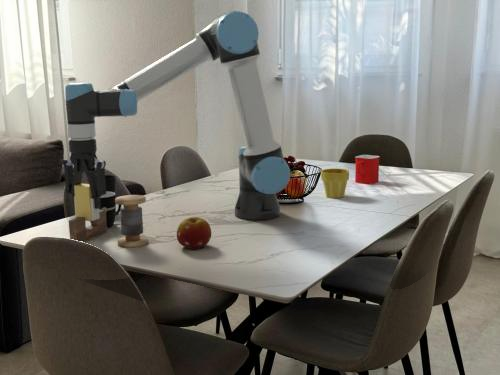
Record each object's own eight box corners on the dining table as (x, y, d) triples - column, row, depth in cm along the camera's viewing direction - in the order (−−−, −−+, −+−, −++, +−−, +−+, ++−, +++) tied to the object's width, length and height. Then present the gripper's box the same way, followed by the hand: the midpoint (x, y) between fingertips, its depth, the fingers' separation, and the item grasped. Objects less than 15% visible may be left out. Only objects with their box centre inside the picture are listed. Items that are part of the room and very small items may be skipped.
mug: (100, 231, 183) (98, 198, 181) (82, 226, 189) (79, 195, 187) (130, 223, 192) (129, 191, 190) (112, 218, 198) (110, 188, 196)
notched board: (107, 232, 182) (105, 209, 181) (77, 245, 170) (75, 220, 168) (100, 231, 183) (99, 208, 182) (70, 244, 170) (68, 220, 169)
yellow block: (98, 218, 176) (96, 184, 174) (90, 221, 173) (88, 186, 170) (84, 216, 178) (82, 183, 176) (76, 219, 174) (74, 185, 172)
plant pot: (317, 198, 223) (317, 172, 221) (324, 192, 232) (325, 167, 230) (345, 200, 219) (345, 173, 217) (351, 194, 228) (352, 169, 226)
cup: (111, 214, 204) (109, 179, 201) (91, 213, 205) (88, 178, 203) (121, 208, 211) (119, 175, 209) (100, 208, 213) (98, 174, 210)
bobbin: (153, 240, 173) (151, 196, 170) (137, 248, 165) (134, 202, 163) (128, 237, 176) (126, 194, 173) (111, 245, 168) (108, 200, 166)
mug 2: (362, 179, 257) (363, 154, 255) (380, 181, 252) (381, 156, 250) (348, 183, 248) (348, 158, 246) (366, 186, 243) (367, 160, 241)
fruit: (182, 253, 161) (181, 224, 159) (172, 244, 169) (171, 217, 167) (216, 248, 164) (215, 220, 163) (205, 240, 172) (204, 213, 171)
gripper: (116, 138, 170) (121, 218, 175) (65, 135, 177) (70, 212, 182) (100, 141, 164) (105, 224, 168) (47, 138, 170) (53, 218, 175)
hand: (87, 218), depth 175 cm, fingers closed on yellow block, 5 cm apart
